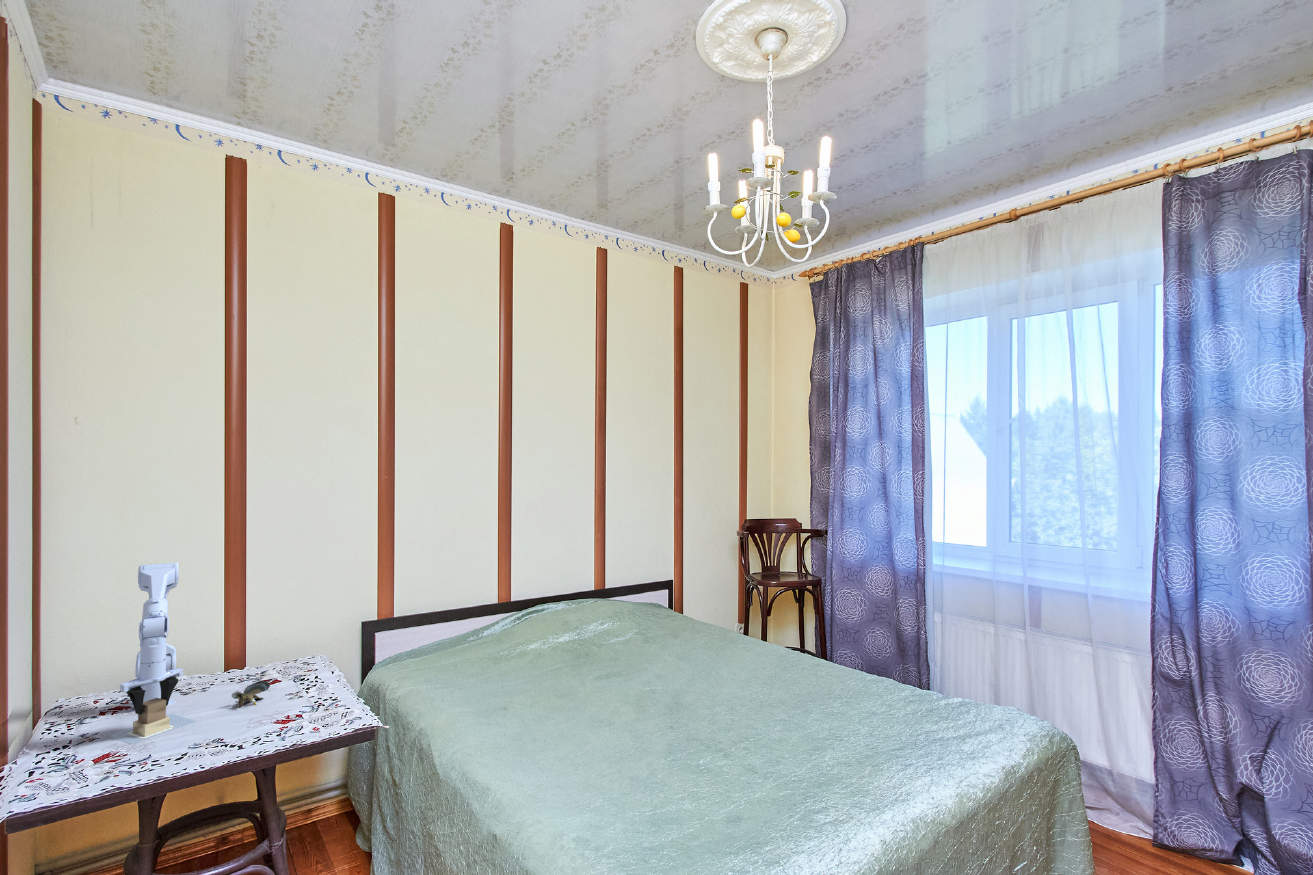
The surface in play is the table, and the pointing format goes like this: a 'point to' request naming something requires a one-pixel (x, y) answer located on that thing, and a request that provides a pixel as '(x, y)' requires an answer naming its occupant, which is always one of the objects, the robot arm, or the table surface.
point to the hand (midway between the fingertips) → (151, 709)
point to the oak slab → (151, 727)
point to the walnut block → (153, 711)
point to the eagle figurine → (251, 692)
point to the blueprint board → (134, 738)
